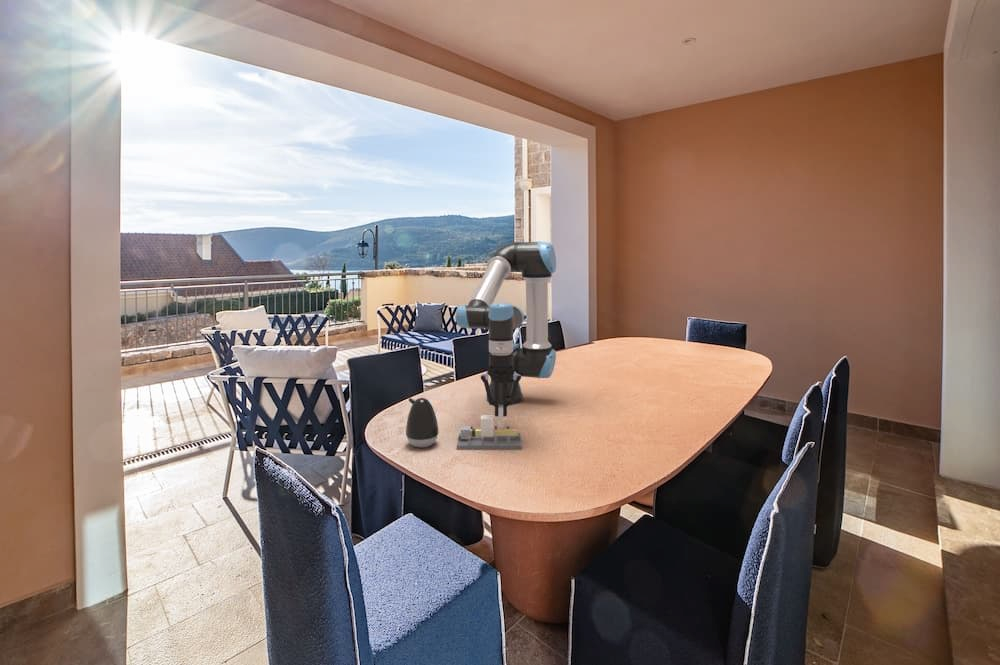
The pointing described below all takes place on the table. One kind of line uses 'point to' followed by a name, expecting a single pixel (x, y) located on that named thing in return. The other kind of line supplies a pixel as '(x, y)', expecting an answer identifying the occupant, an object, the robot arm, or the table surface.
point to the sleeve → (487, 425)
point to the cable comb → (488, 439)
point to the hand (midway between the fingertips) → (500, 425)
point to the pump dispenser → (421, 424)
